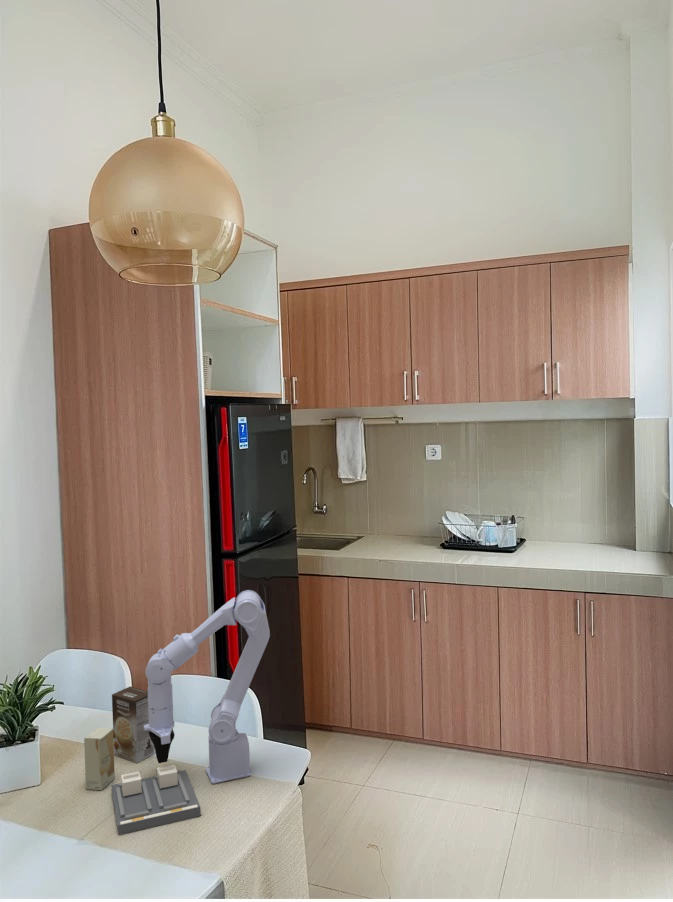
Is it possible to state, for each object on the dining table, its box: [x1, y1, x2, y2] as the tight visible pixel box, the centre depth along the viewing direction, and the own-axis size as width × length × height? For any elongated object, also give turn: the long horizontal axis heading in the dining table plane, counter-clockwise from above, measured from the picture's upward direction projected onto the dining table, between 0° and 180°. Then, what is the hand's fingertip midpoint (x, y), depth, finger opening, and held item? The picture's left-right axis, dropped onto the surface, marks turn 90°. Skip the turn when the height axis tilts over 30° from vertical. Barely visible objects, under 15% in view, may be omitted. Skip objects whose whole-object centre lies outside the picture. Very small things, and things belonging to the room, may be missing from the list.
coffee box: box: [111, 686, 156, 764], centre depth 182 cm, size 9×6×16 cm
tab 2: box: [156, 763, 178, 789], centre depth 162 cm, size 4×4×4 cm
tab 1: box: [120, 771, 142, 796], centre depth 159 cm, size 4×4×4 cm
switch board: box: [110, 769, 202, 836], centre depth 157 cm, size 17×18×3 cm
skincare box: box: [83, 727, 116, 791], centre depth 167 cm, size 6×4×12 cm
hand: (162, 761), depth 169 cm, fingers closed
